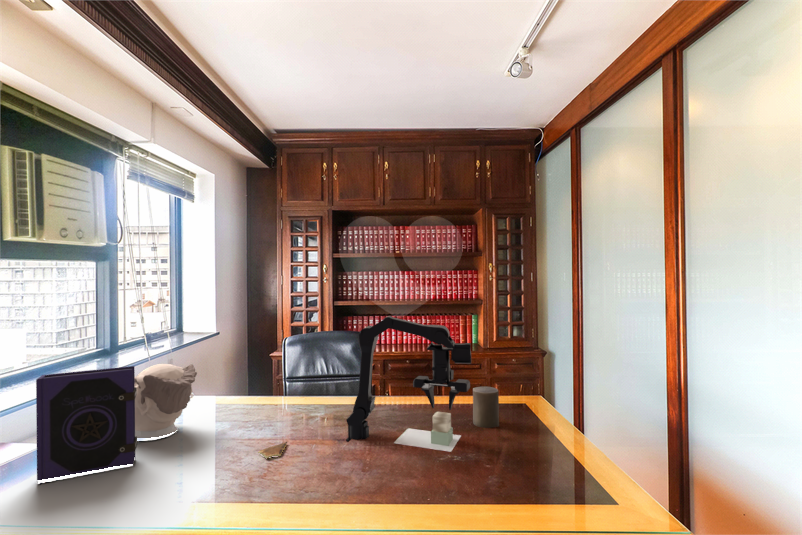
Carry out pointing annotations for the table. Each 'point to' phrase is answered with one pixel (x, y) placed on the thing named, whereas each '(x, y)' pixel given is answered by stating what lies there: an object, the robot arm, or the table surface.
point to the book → (85, 421)
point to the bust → (161, 398)
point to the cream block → (441, 422)
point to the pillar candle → (486, 407)
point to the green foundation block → (442, 437)
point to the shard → (273, 450)
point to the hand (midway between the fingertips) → (441, 408)
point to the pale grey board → (424, 440)
